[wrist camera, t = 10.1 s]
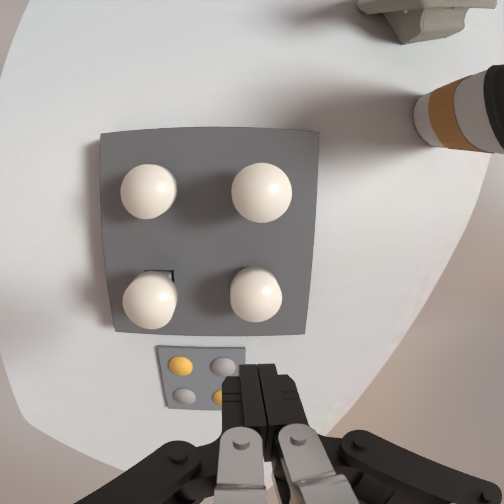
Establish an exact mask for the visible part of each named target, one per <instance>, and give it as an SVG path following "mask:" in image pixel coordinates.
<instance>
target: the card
mask: <svg viewBox="0 0 504 504" xmlns="http://www.w3.org/2000/svg"><path fill="white" fill-rule="evenodd" d="M158 353H159V360H160V366H161V372H162V378H163V384H164V389H165V395H166V400H167V405H168V408H171V409H188V410H222V383H223V381H224V380H225V378H226V376H238V369H239V364H245V347H184V346H161V345H158Z"/></svg>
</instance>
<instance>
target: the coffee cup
mask: <svg viewBox="0 0 504 504" xmlns="http://www.w3.org/2000/svg"><path fill="white" fill-rule="evenodd" d="M413 119H414V124H415V127H416V130H417V131H418V133H419V135H420V136H421V137H422V138H423V140H425V141H426V142H427V143H429V144H430V145H432V146H434V147H443V148H449V149H458V150H468V151H477V152H485V153H501V154H504V65H493V66H491V67H490V68H488V70H486V71H483V72H480V73H478V74H475V75H470V76H467V77H465V78H462V79H460V80H457V81H455V82H452V83H450V84H447V85H445V86H443V87H440V88H438V89H435V90H434V91H433V92H430V93H428V94H426V95H424V96H422V97H420V98H419V100H418V101H417V102H416V105H415V107H414V111H413Z"/></svg>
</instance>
